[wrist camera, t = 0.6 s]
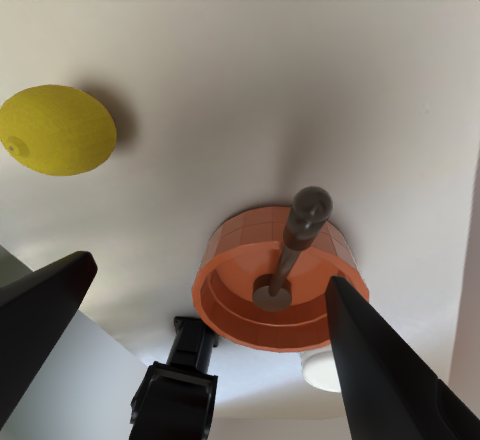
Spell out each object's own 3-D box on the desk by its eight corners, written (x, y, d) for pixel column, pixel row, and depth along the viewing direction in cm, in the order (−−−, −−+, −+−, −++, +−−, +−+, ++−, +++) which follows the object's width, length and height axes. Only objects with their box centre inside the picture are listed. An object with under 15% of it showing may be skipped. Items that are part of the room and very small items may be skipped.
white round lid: (288, 342, 34) (290, 367, 31) (356, 327, 30) (365, 355, 27) (315, 371, 38) (319, 396, 35) (378, 362, 34) (388, 389, 31)
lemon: (114, 73, 17) (12, 77, 10) (146, 148, 20) (83, 188, 13) (54, 91, 18) (-72, 104, 11) (93, 158, 21) (10, 200, 14)
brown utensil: (287, 301, 28) (294, 393, 20) (251, 296, 28) (244, 385, 20) (326, 141, 17) (375, 202, 9) (268, 137, 17) (266, 192, 10)
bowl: (327, 313, 29) (338, 361, 25) (209, 298, 30) (197, 341, 26) (371, 210, 21) (402, 254, 16) (203, 195, 22) (184, 232, 17)
